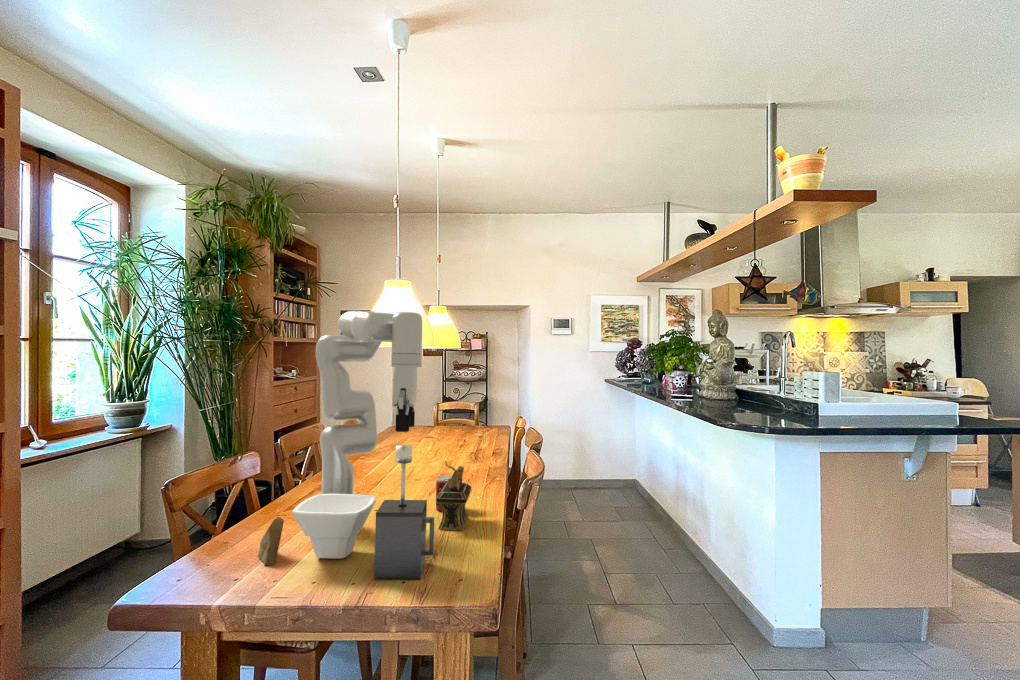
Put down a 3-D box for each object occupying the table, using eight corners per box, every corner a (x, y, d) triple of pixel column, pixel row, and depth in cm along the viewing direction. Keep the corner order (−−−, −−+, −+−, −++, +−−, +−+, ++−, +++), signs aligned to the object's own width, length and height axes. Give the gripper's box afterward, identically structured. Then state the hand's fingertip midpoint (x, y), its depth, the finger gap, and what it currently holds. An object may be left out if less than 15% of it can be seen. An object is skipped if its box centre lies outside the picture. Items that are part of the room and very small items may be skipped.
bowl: (313, 541, 148) (315, 492, 148) (380, 543, 147) (382, 494, 147) (283, 568, 129) (284, 512, 129) (359, 570, 128) (361, 514, 129)
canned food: (431, 511, 179) (432, 479, 179) (443, 505, 186) (443, 474, 187) (451, 514, 176) (451, 481, 177) (461, 508, 184) (462, 476, 184)
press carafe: (374, 580, 123) (375, 512, 124) (382, 561, 134) (384, 499, 135) (430, 579, 124) (432, 512, 124) (434, 561, 135) (436, 500, 135)
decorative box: (442, 515, 175) (443, 456, 175) (470, 516, 174) (472, 457, 175) (432, 535, 155) (433, 469, 155) (464, 536, 154) (465, 470, 155)
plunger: (380, 534, 125) (382, 448, 125) (387, 522, 134) (389, 442, 134) (417, 534, 125) (419, 449, 126) (422, 522, 134) (424, 443, 135)
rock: (283, 557, 130) (300, 538, 140) (262, 531, 129) (280, 514, 139) (250, 581, 131) (269, 560, 141) (229, 555, 130) (249, 536, 140)
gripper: (397, 361, 139) (396, 424, 138) (385, 360, 122) (383, 433, 121) (425, 361, 140) (424, 425, 139) (417, 361, 122) (415, 433, 121)
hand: (405, 429), depth 130 cm, fingers open, 9 cm apart
